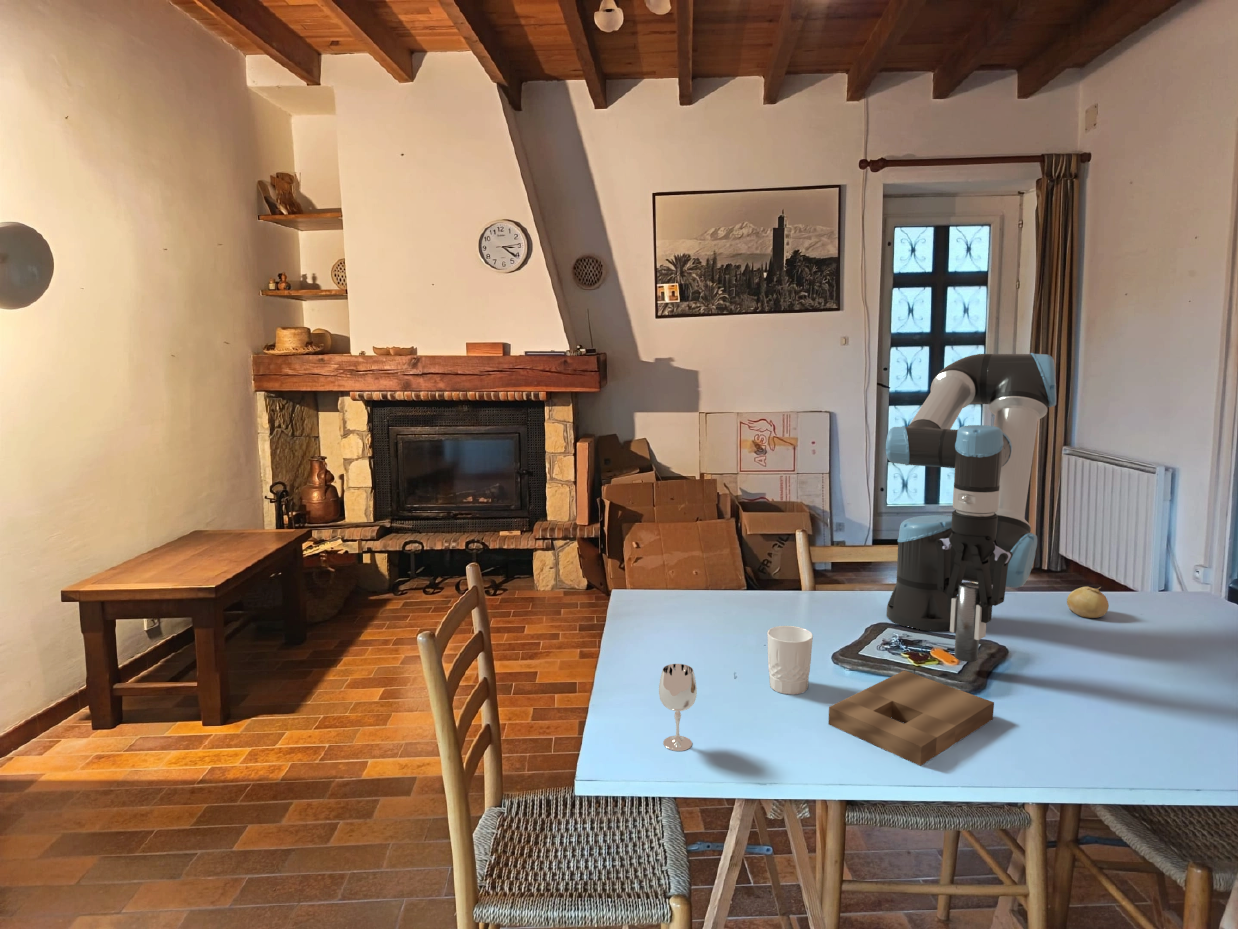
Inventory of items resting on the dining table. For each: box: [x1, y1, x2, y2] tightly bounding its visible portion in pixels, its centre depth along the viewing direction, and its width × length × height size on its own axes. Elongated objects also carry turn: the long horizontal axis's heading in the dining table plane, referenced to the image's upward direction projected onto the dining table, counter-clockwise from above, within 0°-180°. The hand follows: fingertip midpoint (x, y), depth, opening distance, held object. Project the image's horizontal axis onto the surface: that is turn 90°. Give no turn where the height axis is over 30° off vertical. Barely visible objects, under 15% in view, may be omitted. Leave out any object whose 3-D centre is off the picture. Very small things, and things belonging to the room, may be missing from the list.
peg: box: [953, 581, 981, 663], centre depth 141 cm, size 4×4×14 cm
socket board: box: [827, 669, 995, 767], centre depth 123 cm, size 16×22×3 cm
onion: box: [1066, 586, 1109, 619], centre depth 171 cm, size 8×8×7 cm
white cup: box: [766, 625, 814, 695], centre depth 136 cm, size 8×8×10 cm
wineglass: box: [658, 663, 698, 752], centre depth 116 cm, size 6×6×12 cm
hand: (967, 633), depth 141 cm, fingers closed on peg, 4 cm apart
